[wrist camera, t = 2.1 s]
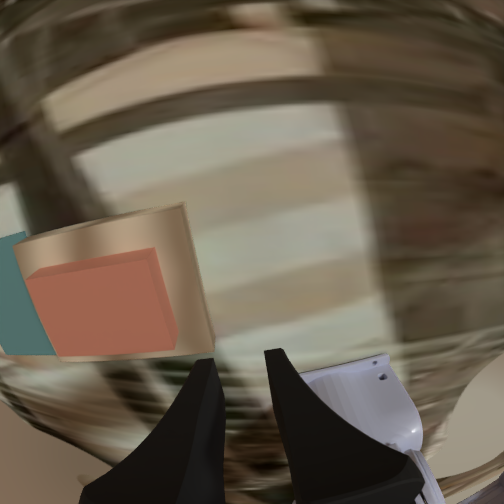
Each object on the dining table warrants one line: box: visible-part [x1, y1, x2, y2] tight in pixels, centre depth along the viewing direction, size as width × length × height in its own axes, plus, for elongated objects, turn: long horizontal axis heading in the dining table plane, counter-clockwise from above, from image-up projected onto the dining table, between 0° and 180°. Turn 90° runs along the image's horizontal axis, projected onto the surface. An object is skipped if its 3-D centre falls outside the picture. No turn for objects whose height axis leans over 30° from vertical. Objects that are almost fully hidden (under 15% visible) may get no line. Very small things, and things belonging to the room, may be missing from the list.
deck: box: [12, 202, 215, 362], centre depth 20 cm, size 13×10×2 cm
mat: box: [0, 231, 57, 355], centre depth 20 cm, size 9×11×1 cm
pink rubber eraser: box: [25, 247, 179, 357], centre depth 18 cm, size 9×6×2 cm, turn 98°
